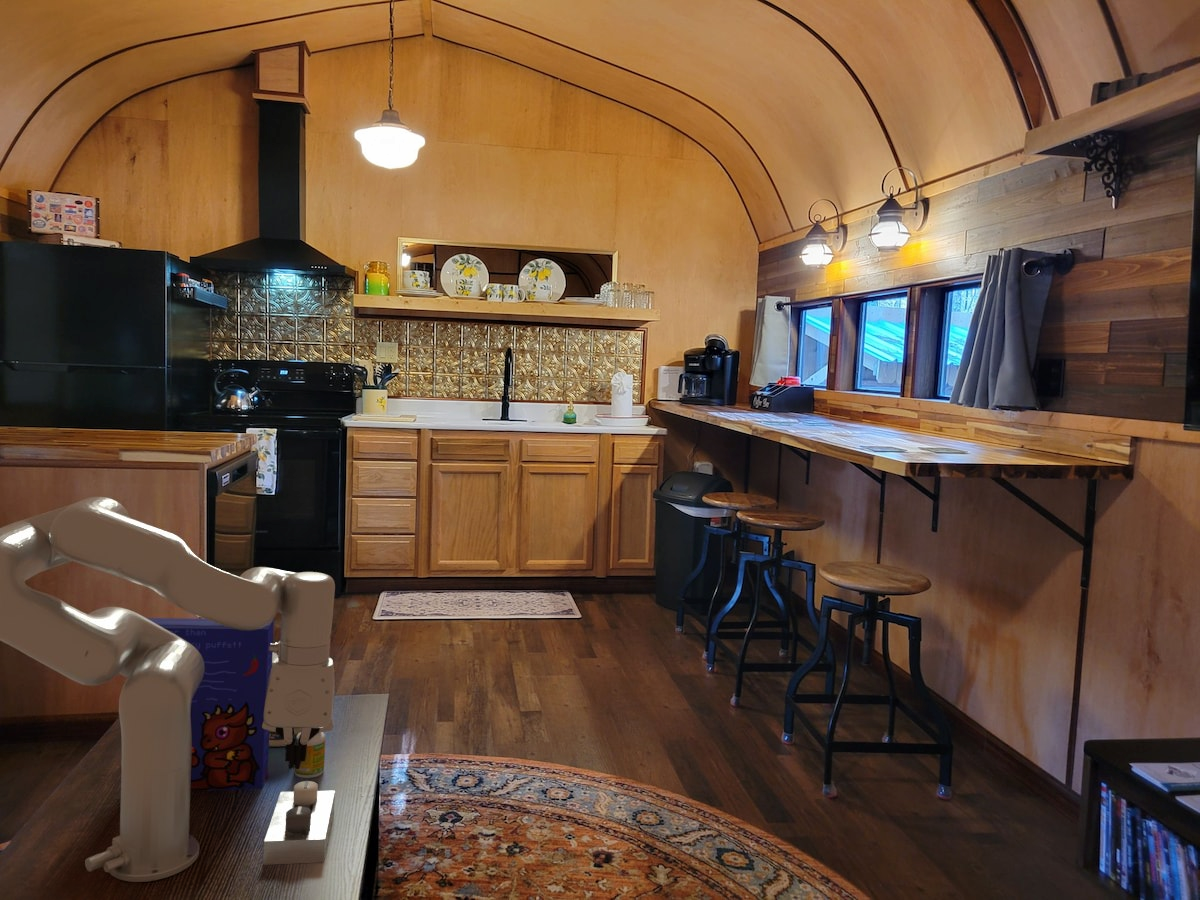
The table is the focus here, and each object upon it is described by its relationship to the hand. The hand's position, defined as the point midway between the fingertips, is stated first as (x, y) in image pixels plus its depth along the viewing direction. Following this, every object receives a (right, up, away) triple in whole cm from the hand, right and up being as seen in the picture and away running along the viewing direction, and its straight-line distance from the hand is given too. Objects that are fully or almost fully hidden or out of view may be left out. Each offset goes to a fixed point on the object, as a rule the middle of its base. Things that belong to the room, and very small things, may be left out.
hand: (295, 765), depth 138 cm
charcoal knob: (0, -14, +1) cm, 14 cm away
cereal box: (-24, -11, +21) cm, 34 cm away
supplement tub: (-18, -10, +43) cm, 48 cm away
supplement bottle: (-7, -12, +28) cm, 31 cm away
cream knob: (-2, -13, +10) cm, 17 cm away
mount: (-1, -14, +6) cm, 15 cm away
